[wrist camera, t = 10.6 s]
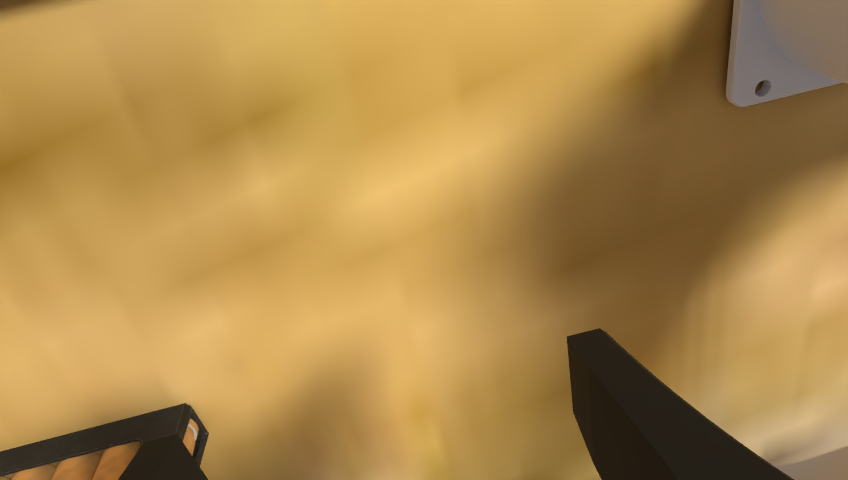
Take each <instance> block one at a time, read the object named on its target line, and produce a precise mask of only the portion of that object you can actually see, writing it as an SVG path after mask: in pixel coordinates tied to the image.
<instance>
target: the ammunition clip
mask: <svg viewBox="0 0 848 480" xmlns="http://www.w3.org/2000/svg"><path fill="white" fill-rule="evenodd" d="M176 434H178V435H179V437H180V438H181V440H182V441H183V443H184V444H185V446H186V447H187V449H188V450H189V452H190V453H191V455H192V456H193V458H194V459H195V461H196V462H197V464H198V465H199V467H200V464H201V460H202V456H203V453H204V449H205V445H206V442H207V438H208V434H209V433H208V432H207V430H206V429H205V427H204V425H203V424H202V422H201V421H200V419H199V418H198V416H197V415H196V413H195V412H194V410H193V409H192V407H191V406H189V405H187V404H186V403H184V404H180V405H177V406H173V407H169V408H165V409H161V410H158V411H154V412H150V413H146V414H142V415H138V416H135V417H131V418H127V419H123V420H119V421H116V422H112V423H108V424H104V425H100V426H96V427H93V428H89V429H85V430H81V431H77V432H74V433H70V434H66V435H62V436H58V437H55V438H51V439H47V440H43V441H39V442H35V443H32V444H28V445H24V446H20V447H16V448H13V449H9V450H5V451H1V452H0V480H118V479H119V477H120V476H121V474H122V473H123V472H124V470H125V469H126V467H127V466H128V464H129V463H130V462H131V460H132V459H133V457H134V456H135V455H136V453H137V452H138V451H139V449H140V448H141V446H142V445H143V444H144V442H148V441H152V440H156V439H160V438H164V437H168V436H172V435H176Z"/></svg>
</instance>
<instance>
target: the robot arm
mask: <svg viewBox="0 0 848 480" xmlns="http://www.w3.org/2000/svg"><path fill="white" fill-rule="evenodd" d="M761 81H763V85H762V87H761V88H760V89H759V90H758V91H757V92H755V88H756V86H757V85H758V84H759V82H761ZM840 83H846V84H848V0H734V6H733V18H732V29H731V40H730V51H729V62H728V73H727V84H726V98H727V100H728V101H729V102H730V103H732V104H734V105H736V106H738V107H746V106H750V105H754V104H758V103H762V102H766V101H770V100H775V99H779V98H783V97H787V96H791V95H795V94H799V93H803V92H807V91H811V90H815V89H819V88H823V87H827V86H831V85H836V84H840ZM567 344H568V356H569V368H570V380H571V391H572V403H573V413H574V415H575V418H576V420H577V423H578V425H579V428H580V431H581V433H582V436H583V438H584V441H585V443H586V446H587V448H588V451H589V453H590V456H591V458H592V461H593V463H594V465H595V467H596V469H597V471H598V473H599V475H600V477H601V479H602V480H794V479H792V478H791V477H789V476H788V475H786V474H785V473H783V472H782V471H780V470H779V469H777V468H776V467H774V466H773V465H771V464H770V463H768V462H767V461H765V460H764V459H763V458H761V457H760V456H758V455H757V454H755V453H754V452H752V451H751V450H750V449H748V448H747V447H745V446H744V445H743V444H741V443H740V442H739V441H737V440H736V439H734V438H733V437H732V436H730V435H729V434H727V433H726V432H725V431H723V430H722V429H721V428H719V427H718V426H717V425H715V424H714V423H713V422H711V421H710V420H709V419H707V418H706V417H705V416H704V415H702V414H701V413H700V412H699V411H697V410H696V409H695V408H693V407H692V406H691V405H690V404H688V403H687V402H686V401H685V400H683V399H682V398H681V397H680V396H678V395H677V394H676V393H675V392H673V391H672V390H671V389H670V388H668V387H667V386H666V385H665V384H664V383H662V382H661V381H660V380H659V379H658V378H656V377H655V376H654V375H653V374H652V373H651V372H649V371H648V370H647V369H646V368H645V367H644V366H643V365H641V364H640V363H639V362H638V361H637V360H636V359H635V358H633V357H632V356H631V355H630V354H629V353H628V352H627V351H626V350H625V349H623V348H622V347H621V346H620V345H619V344H618V343H617V342H616V341H615V340H614V339H613V338H611V337H610V336H609V335H608V334H607V333H606V332H605V331H603V330H601V329H600V328H599V329H595V330H591V331H587V332H583V333H579V334H575V335H571V336H567ZM118 480H208V479H207V477H206V476H205V474H204V473H203V471H202V470H201V468H200V467H199V465H198V464H197V462H196V461H195V459H194V458H193V456H192V455H191V453H190V452H189V450H188V449H187V447H186V446H185V444H184V443H183V441H182V440H181V438H180V437H179V435H178V434H176V435H172V436H168V437H164V438H160V439H156V440H152V441H148V442H144V444H143V445H142V446H141V448H140V449H139V451H138V452H137V453H136V455H135V456H134V457H133V459H132V460H131V462H130V463H129V464H128V466H127V467H126V469H125V470H124V472H123V473H122V474H121V476H120V477H119V479H118Z"/></svg>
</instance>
